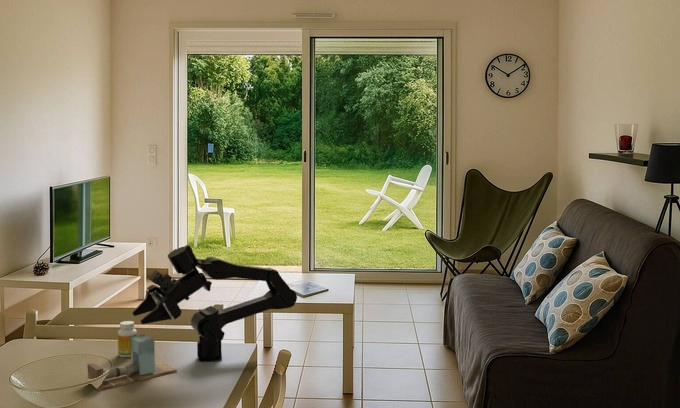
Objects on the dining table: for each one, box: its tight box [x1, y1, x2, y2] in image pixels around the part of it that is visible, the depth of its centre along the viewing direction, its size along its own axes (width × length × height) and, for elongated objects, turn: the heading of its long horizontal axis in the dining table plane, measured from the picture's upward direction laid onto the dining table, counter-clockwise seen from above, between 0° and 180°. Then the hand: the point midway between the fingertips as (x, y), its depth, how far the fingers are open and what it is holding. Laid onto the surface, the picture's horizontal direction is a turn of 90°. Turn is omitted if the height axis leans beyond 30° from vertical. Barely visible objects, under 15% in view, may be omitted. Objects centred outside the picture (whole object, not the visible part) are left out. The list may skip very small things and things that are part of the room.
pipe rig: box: [86, 361, 178, 391], centre depth 184 cm, size 22×8×5 cm, turn 131°
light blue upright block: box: [130, 334, 156, 375], centre depth 185 cm, size 4×6×9 cm, turn 41°
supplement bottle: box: [117, 320, 138, 358], centre depth 201 cm, size 5×5×10 cm
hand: (137, 318), depth 188 cm, fingers open, 9 cm apart
